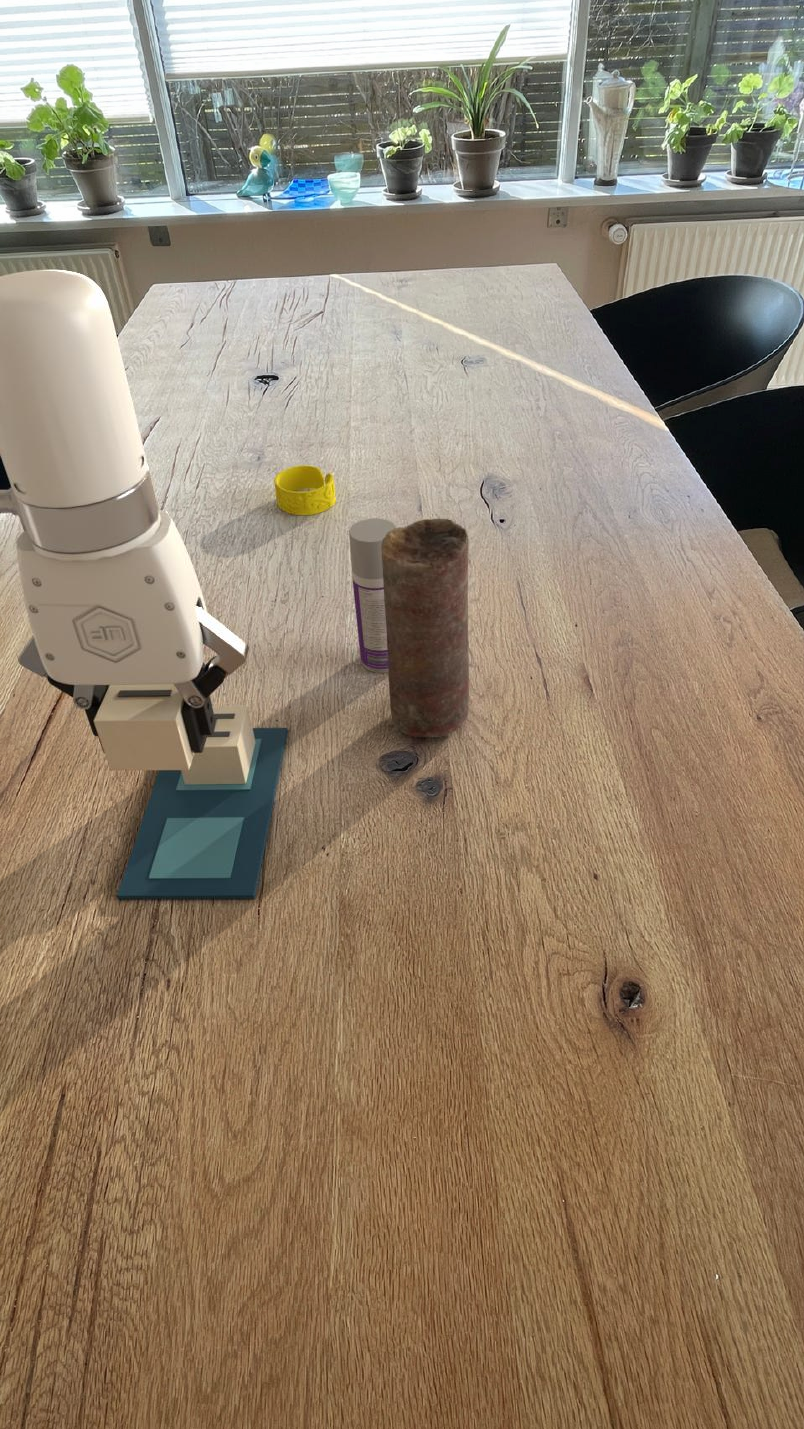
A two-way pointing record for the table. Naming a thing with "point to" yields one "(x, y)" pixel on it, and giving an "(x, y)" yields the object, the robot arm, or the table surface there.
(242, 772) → the tile
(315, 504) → the bracelet
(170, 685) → the tile
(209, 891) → the word mat
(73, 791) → the table surface
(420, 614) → the candle
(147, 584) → the robot arm
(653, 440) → the table surface
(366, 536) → the container
